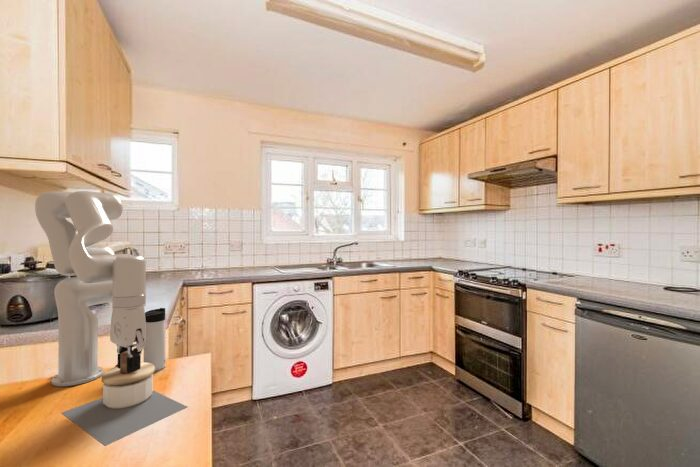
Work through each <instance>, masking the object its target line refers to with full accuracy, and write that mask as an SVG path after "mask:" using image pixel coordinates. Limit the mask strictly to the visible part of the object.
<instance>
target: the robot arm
mask: <svg viewBox="0 0 700 467" xmlns="http://www.w3.org/2000/svg"><path fill="white" fill-rule="evenodd" d="M34 209H35V210H34V211H35V216H36V219H37V221H38V223H39V225H40V227H41V229H42V231H43V232H44V233H45V235H46V237H47V240H48V243H49V248H50V253H51V257H52V262H53V265H54V268H55V270H56V272H57V273H58V274H60V275H61V276H73V277H68V278H65V279H63V280H61V281H59V282H57V284H56V285H55V287H54V290H53V291H54V295H53V296H54V300H55V305H56V308H57V309H56V310H57V315H58V316H57V317H58V318H57V319H58V320H57V321H58V351H57V352H58V358H57V359H58V360H57V361H58V374H56V375H55V376H53V377H52V379H51V382H50V383H51V385H52V386H54V387H72V386H77V385H82V384H86V383H89V382H92V381H93V380H96V379H98V378H99V377H102V374H103V373H105V372H104V368H103V367H102V366H98V365H99V364H98V359H99V358H98V357H99V356H98V355H99V354H98V351H99V349H98V348H99V347H98V346H99V345H98V344H99V342H98V340H99V339H98V338H99V336H98V335H99V333H98V330H99V327H98V326H99V325H98V323H99V322H98V317H97V316H96V315H95V313H94V312H92V311H91V310H90V308H89V307H91V306H92V307H93V306H97V305H101V304H109V303H112V305H111V306H112V307H111V308H112V312H111V318H110V334H109V335H110V336H109V340H110V342H111V343H113V344H115V345H116V347H117V348H116V352H117V364H118V368H119V369H120V354H121V353H122V352H125V351H128V357H127V372H128V373H130V372H133V371H136V370H139V369H140V368H141V359H142V358H141V355H142V352H143V351H144V348H145V344H144V342H145V340H146V320H145V312H146V311H145V306H146V303H147V302H146V296H147V294H146V293H147V288H146V286H147V282H146V281H147V279H146V278H147V277H146V276H147V275H146V274H147V273H146V272H147V261H146V258H145V257H143V256H141V255H133V254H130V253H115V252H114V251H113V250H112V249H111V247H109V246H107V245H102V244H99V243H100V242H102V241H104V240H106V239H108V238H109V237H110V236H111V235H112V234H113V232H114V226H113V224H112V222H111V220H117V219H120V217H121V216H122V214H123V210H124V208H123V203H122V200H121V199H120V198H119V197H118V196H117V195H116V194H113V193H108V192H107V193H106V192H97V191H88V190H87V191H86V190H79V191H74V192H72V191H58V190H55V191H54V190H53V191H45V192H41V193H40V194H39V195H38V196H37V197H36V198H35V204H34ZM68 219H70V220H71V222H70V221H69V220H68ZM97 243H98V244H97ZM95 244H96V245H95ZM132 350H133V351H132Z"/></svg>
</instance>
